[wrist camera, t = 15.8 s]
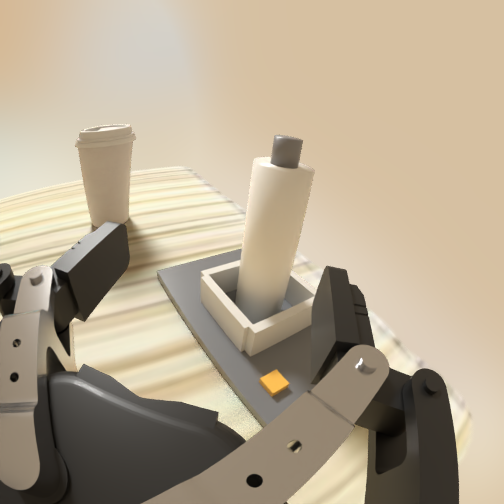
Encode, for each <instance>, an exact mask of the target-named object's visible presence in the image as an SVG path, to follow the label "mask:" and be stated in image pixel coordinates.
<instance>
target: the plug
mask: <svg viewBox="0 0 504 504" xmlns="http://www.w3.org/2000/svg"><path fill="white" fill-rule="evenodd" d="M302 143H303V140H301V139H298V138H294V137H289V136H283V135H275V136H274V143H273V150H272V155H271V157H259V158H255V159H254V162H253V168H252V175H251V183H250V191H249V198H248V205H247V213H246V221H245V228H244V236H243V244H242V252H241V260H240V268H239V276H238V284H237V292H236V300H235V305H236V306H237V307H238V309H239V310H240V311H241V312H242V313H243V314H244V315H245V316H246V317H247V318H248V320H249V321H250V322H251V323H252V324H256V323H258V322H260V321H262V320H265V319H267V318H269V317H271V316H273V315H276V314H278V313H280V312H281V309H282V305H283V301H284V298H285V294H286V290H287V286H288V282H289V278H290V275H291V271H292V267H293V263H294V259H295V255H296V251H297V246H298V242H299V238H300V234H301V230H302V226H303V221H304V217H305V213H306V208H307V204H308V199H309V195H310V190H311V185H312V181H313V176H314V169H313V168H311V167H310V166H308V165H305V164H303V163H300V162H299V160H300V154H301V149H302Z"/></svg>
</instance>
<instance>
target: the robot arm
mask: <svg viewBox="0 0 504 504" xmlns="http://www.w3.org/2000/svg"><path fill="white" fill-rule="evenodd" d="M129 259H130V255H129V247H128V239H127V229H126V226H125V225H124V224H122V223H117V222H112V221H107V222H105V223H104V224H103V225H102V226H100V227H99V228H98V229H97V230H96V231H94V232H92V233H89V234H87V235H85V236H84V237H83V238H82V239H81V240H80V241H78V243H76V244H75V245H74V246H73V247H72V249H69V250H68V251H67V252H66V253H65V254H64V255H62V256H61V257H60V258H59V259H58V260H57V261H56V262H55V263H54V264H53V265H52V266H51V267H48V266H44V265H41V266H36V267H34V268H32V269H30V270H28V271H27V272H26V273H25V274H24V275H23V276H14V274H13V272H12V269H11V267H10V265H9V264H6V263H2V264H0V313H1V314H2V316H3V319H2V320H1V322H0V504H288V503H287V502H286V501H287V500H288V499H289V498H290V497H291V496H293V495H294V494H295V493H296V492H297V491H298V490H299V489H300V488H301V487H302V486H303V485H304V484H305V483H306V482H307V481H308V480H309V479H310V478H311V477H312V476H313V475H314V474H315V473H316V472H317V471H318V470H319V469H320V468H321V467H322V466H323V465H324V464H325V463H326V461H327V460H328V459H329V458H330V457H331V456H332V455H333V454H334V453H335V451H336V450H337V449H338V448H339V447H340V446H341V444H342V443H343V442H344V441H345V440H346V438H347V437H348V436H349V435H350V433H351V432H352V430H353V429H354V427H355V426H354V424H356V425H358V426H361V427H364V428H367V429H369V439H368V467H367V482H366V494H365V503H364V504H459V478H458V461H457V450H456V441H455V433H454V426H453V420H452V414H451V408H450V403H449V398H448V393H447V389H446V385H445V383H444V381H443V379H442V378H441V376H440V375H439V374H438V373H436V372H435V371H433V370H430V369H420V370H418V371H416V372H415V374H414V375H413V376H409V375H406V374H404V373H401V372H398V371H396V370H393V369H391V368H390V367H389V363H388V360H387V359H386V357H385V356H384V354H383V353H382V352H380V351H379V350H378V349H376V348H375V345H374V340H373V335H372V330H371V325H370V320H369V317H368V311H367V308H366V303H365V299H364V295H363V294H362V293H361V291H360V290H359V289H358V287H357V286H356V285H351V284H349V280H348V275H347V271H346V270H345V269H340V268H335V267H330V266H326V268H325V269H324V272H323V275H322V278H321V280H320V283H319V286H318V289H317V291H316V294H315V297H314V300H313V304H312V311H311V384H314V385H316V386H315V387H314V388H313V389H312V390H310V391H309V390H308V391H306V392H305V393H303V394H302V395H301V396H300V397H299V398H298V399H297V400H296V401H294V402H293V403H292V404H291V405H290V406H289V407H288V408H287V409H285V410H284V411H283V412H282V413H281V414H280V415H279V416H277V417H276V418H275V419H274V420H273V421H271V422H270V423H269V424H268V425H267V426H265V427H264V428H263V429H262V430H260V431H259V432H258V433H257V434H255V435H254V436H253V437H252V438H250V439H249V440H248V441H246V440H245V439H244V438H243V437H242V436H240V435H239V434H238V433H237V432H235V431H234V430H233V429H231V428H230V427H228V426H226V425H225V424H223V423H221V422H219V421H218V412H216V411H212V410H208V409H204V408H200V407H197V406H193V405H190V404H186V403H183V402H176V401H164V400H154V399H146V398H141V397H139V396H137V395H135V394H134V393H133V392H131V391H130V390H128V389H127V388H126V387H124V386H123V385H122V384H120V383H119V382H118V381H116V380H115V379H114V378H112V377H111V376H109V375H107V374H104V373H102V372H100V371H98V370H96V369H93V368H91V367H89V366H87V365H85V364H83V365H82V367H81V369H80V370H79V372H78V371H77V368H76V363H75V353H74V336H73V324H72V322H71V321H72V319H73V318H74V317H75V318H77V319H79V320H81V321H84V322H85V321H86V319H87V318H88V317H89V315H90V314H91V313H92V312H93V310H94V309H95V308H96V306H97V305H98V304H99V303H100V301H101V300H102V299H103V297H104V296H105V295H106V294H107V292H108V291H109V290H110V289H111V287H112V286H113V285H114V284H115V283H116V281H117V280H118V279H119V278H120V277H121V275H122V274H123V273H124V272H125V271H126V269H127V267H128V264H129Z"/></svg>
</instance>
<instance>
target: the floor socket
mask: <svg viewBox="0 0 504 504" xmlns="http://www.w3.org/2000/svg"><path fill="white" fill-rule="evenodd" d="M241 252H242V249H238V250H235V251H231V252H227V253H223V254H219V255H215V256H212V257H208V258H204V259H200V260H196V261H193V262H189V263H185V264H181V265H177V266H174V267H170V268H166V269H162V270H158V271H157V276H158V279H159V281H160V283H161V284H162V286H163V288H164V289H165V291H166V293H167V294H168V296H169V298H170V299H171V301H172V303H173V304H174V306H175V307H176V309H177V310H178V312H179V314H180V315H181V317H182V318H183V320H184V321H185V323H186V324H187V326H188V327H189V329H190V330H191V332H192V333H193V335H194V336H195V338H196V339H197V341H198V342H199V344H200V345H201V347H202V348H203V350H204V351H205V352H206V354H207V355H208V357H209V358H210V360H211V361H212V362H213V364H214V365H215V366H216V368H217V369H218V371H219V372H220V373H221V375H222V376H223V377H224V379H225V380H226V381H227V383H228V384H229V385H230V387H231V388H232V389H233V391H234V392H235V393H236V394H237V396H238V397H239V398H240V399H241V401H242V402H243V403H244V405H245V406H246V407H247V408H248V409H249V411H250V412H251V413H252V414H253V416H254V417H255V418H256V419H257V420H258V422H259V423H260V424H261V425H262V426H263V427H265V426H267V425H268V424H269V423H270V422H271V421H273V420H274V419H275V418H276V417H277V416H279V415H280V414H281V413H282V412H283V411H284V410H285V409H287V408H288V407H289V406H290V405H291V404H292V403H293V402H294V401H296V400H297V399H298V398H299V397H300V396H301V395H302V394H303V393H305V392H306V391H308V390H309V391H310V390H312V389H313V388H314V387H315V386H316V385H314V384H311V311H312V304H313V300H314V297H315V294H316V291H317V289H315V288H314V287H313V286H312V285H310V284H309V283H308V282H307V281H305V280H304V279H303V278H302V277H300V276H299V275H298V274H297V273H295V272H294V271H293V270H292V271H291V275H290V278H289V282H288V286H287V290H286V294H285V298H284V301H283V305H282V309H281V312H280V313H278V314H276V315H273V316H271V317H269V318H267V319H265V320H262V321H260V322H258V323H256V324H252V323H251V322H250V321H249V320H248V318H247V317H246V316H245V315H244V314H243V313H242V312H241V311H240V310H239V309H238V307H237V306H236V305H235V300H236V292H237V284H238V276H239V268H240V260H241Z"/></svg>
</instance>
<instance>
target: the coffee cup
mask: <svg viewBox="0 0 504 504" xmlns="http://www.w3.org/2000/svg"><path fill="white" fill-rule="evenodd" d="M135 139H136V137H135V134H134V132H133V131H132V128H131V125H127V124H126V125H125V124H117V125H105V126H98V127H93V128H88V129H84V130H81V131H80V134H79V138H78V139H77V142H76V145H75V147H77V148H78V150H79V157H80V164H81V170H82V177H83V182H84V188H85V193H86V198H87V203H88V208H89V213H90V217H91V221H92V224H93V226H95V227H97V228H99V227H100V226H102V225H103V224H104V223H105V222H107V221H112V222H117V223H122V224H124V223H125V222H126V221H127V220H128V218H129V186H130V168H131V154H132V145H133V141H134V140H135Z"/></svg>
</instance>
